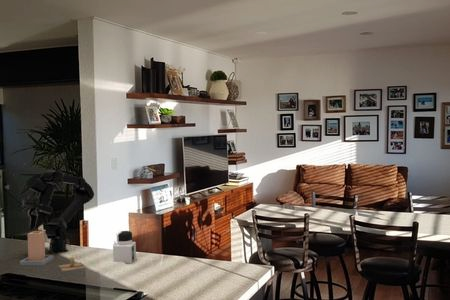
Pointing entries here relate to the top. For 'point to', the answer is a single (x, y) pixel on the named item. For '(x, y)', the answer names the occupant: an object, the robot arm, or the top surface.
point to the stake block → (71, 265)
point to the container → (124, 248)
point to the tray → (47, 259)
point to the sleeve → (36, 246)
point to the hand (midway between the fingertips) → (33, 229)
